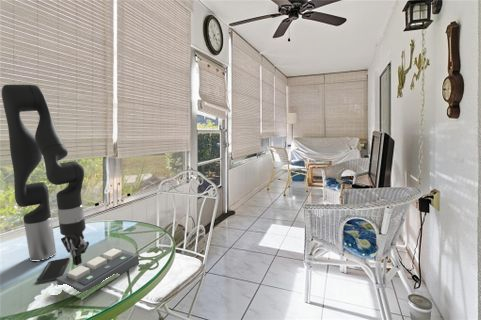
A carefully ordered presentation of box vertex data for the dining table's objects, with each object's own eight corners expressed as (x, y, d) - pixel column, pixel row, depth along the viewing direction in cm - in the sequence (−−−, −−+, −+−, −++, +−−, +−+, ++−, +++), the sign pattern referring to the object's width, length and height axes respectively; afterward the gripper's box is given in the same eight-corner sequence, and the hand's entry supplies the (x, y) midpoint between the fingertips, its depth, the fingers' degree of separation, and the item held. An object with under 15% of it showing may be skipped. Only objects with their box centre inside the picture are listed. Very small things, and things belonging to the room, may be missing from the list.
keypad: (57, 288, 92) (56, 277, 91) (116, 255, 113) (115, 246, 112) (82, 300, 86) (81, 288, 85) (139, 263, 107) (138, 253, 106)
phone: (35, 282, 94) (49, 261, 108) (36, 285, 95) (49, 263, 108) (60, 277, 97) (70, 257, 111) (61, 280, 97) (71, 259, 111)
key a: (68, 278, 92) (67, 272, 92) (81, 271, 97) (81, 265, 96) (76, 282, 90) (76, 276, 90) (90, 274, 95) (89, 268, 94)
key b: (87, 268, 99) (86, 262, 98) (99, 261, 103) (98, 256, 103) (95, 271, 96) (94, 265, 96) (107, 264, 101) (106, 259, 100)
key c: (103, 259, 105) (103, 253, 104) (114, 253, 109) (113, 248, 109) (111, 262, 103) (111, 256, 102) (122, 256, 107) (121, 250, 107)
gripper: (49, 219, 89) (55, 265, 92) (72, 225, 83) (78, 274, 86) (71, 212, 96) (76, 254, 99) (94, 217, 90) (99, 263, 93)
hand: (77, 263), depth 93 cm, fingers closed
